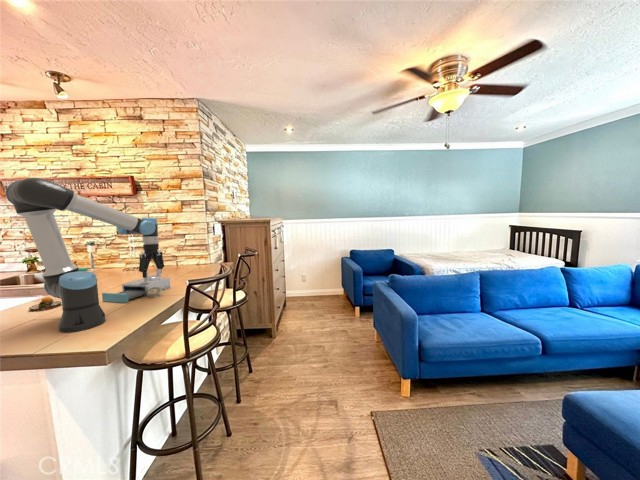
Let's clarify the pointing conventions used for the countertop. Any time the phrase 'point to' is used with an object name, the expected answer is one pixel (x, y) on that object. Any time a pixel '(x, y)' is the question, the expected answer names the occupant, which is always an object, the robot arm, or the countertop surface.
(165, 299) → the countertop surface
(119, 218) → the robot arm
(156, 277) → the disc
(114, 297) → the tray
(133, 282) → the box
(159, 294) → the block
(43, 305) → the burger
